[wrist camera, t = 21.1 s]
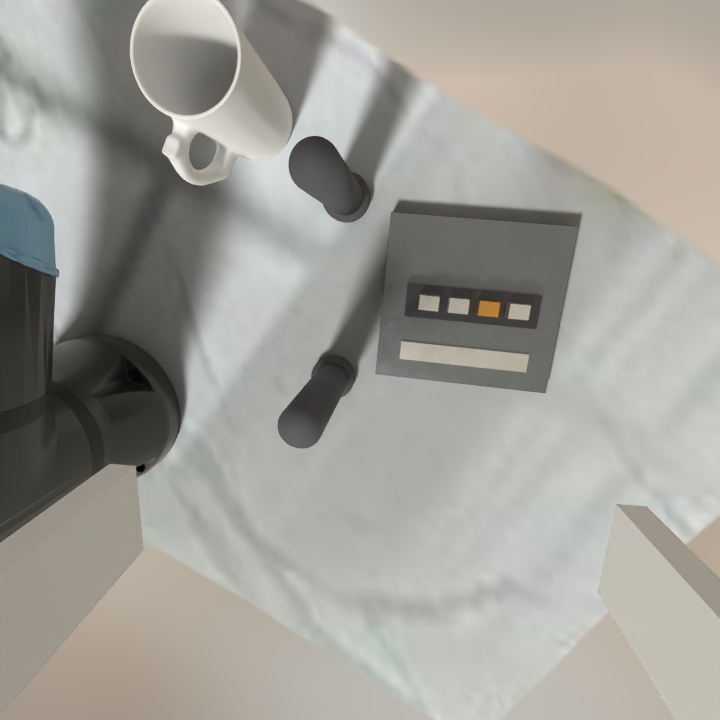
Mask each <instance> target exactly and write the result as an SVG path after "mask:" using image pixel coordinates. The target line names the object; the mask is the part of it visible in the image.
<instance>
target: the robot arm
mask: <svg viewBox="0 0 720 720" xmlns="http://www.w3.org/2000/svg"><path fill="white" fill-rule="evenodd" d="M56 277H59V270H58V269H57V268H56V263H55V243H54V223H53V219H52V217H51V215H50V213H49V211H48V210H47V208H46V207H45V206H44V205H43V204H42V203H41V202H40V201H39V200H38V199H36V198H35V197H33V196H31V195H30V194H28V193H26V192H23V191H20V190H18V189H15V188H12V187H9V186H6V185H3V184H0V716H1V715H2V713H3V712H4V711H5V710H6V709H7V708H8V706H9V705H10V704H11V703H12V702H13V701H14V699H15V698H16V697H17V696H18V695H19V694H20V693H21V691H22V690H23V689H24V688H25V687H26V686H27V684H28V683H29V682H30V681H31V680H32V679H33V677H34V676H35V675H36V674H37V673H38V672H39V671H40V669H41V668H42V667H43V666H44V665H45V664H46V662H47V661H48V660H49V659H50V658H51V657H52V655H53V654H54V653H55V652H56V651H57V650H58V648H59V647H60V646H61V645H62V644H63V643H64V642H65V640H66V639H67V638H68V637H69V636H70V634H71V633H72V632H73V631H74V630H75V629H76V628H77V626H78V625H79V624H80V623H81V622H82V620H83V619H84V618H85V617H86V616H87V615H88V614H89V612H90V611H91V610H92V609H93V608H94V607H95V606H96V604H97V603H98V602H99V601H100V600H101V599H102V597H103V596H104V595H105V594H106V593H107V591H108V590H109V589H110V588H111V587H112V586H113V585H114V583H115V582H116V581H117V580H118V579H119V578H120V576H121V575H122V574H123V573H124V572H125V571H126V570H127V568H128V567H129V566H130V565H131V564H132V563H133V561H134V560H135V559H136V558H137V557H138V556H139V554H140V553H141V552H142V551H143V541H142V530H141V519H140V508H139V497H138V486H137V477H139V476H141V475H143V474H144V473H146V472H147V471H149V470H150V469H151V468H152V467H154V466H155V465H156V464H157V463H159V462H160V461H161V460H162V459H163V458H164V457H165V456H166V455H167V453H168V452H169V451H170V449H171V447H172V446H173V444H174V441H175V439H176V436H177V432H178V427H179V408H178V402H177V398H176V395H175V392H174V389H173V387H172V384H171V383H170V381H169V379H168V377H167V375H166V374H165V372H164V371H163V370H162V368H161V367H160V366H159V365H158V363H157V362H156V361H155V360H154V359H153V358H152V357H151V356H149V355H148V354H147V353H146V352H144V351H143V350H142V349H140V348H139V347H137V346H135V345H134V344H132V343H130V342H128V341H125V340H123V339H120V338H116V337H112V336H106V335H90V336H84V337H80V338H75V339H71V340H67V341H64V342H61V343H59V344H57V345H55V346H53V329H54V306H55V286H56ZM598 594H599V595H600V597H601V599H602V600H603V602H604V604H605V605H606V607H607V609H608V610H609V612H610V614H611V615H612V617H613V618H614V620H615V622H616V623H617V625H618V626H619V628H620V630H621V631H622V633H623V635H624V636H625V638H626V640H627V641H628V643H629V645H630V646H631V648H632V650H633V651H634V653H635V655H636V656H637V658H638V659H639V661H640V663H641V664H642V666H643V667H644V669H645V671H646V673H647V674H648V676H649V677H650V679H651V681H652V682H653V684H654V685H655V687H656V689H657V691H658V692H659V694H660V696H661V697H662V699H663V700H664V702H665V704H666V705H667V707H668V709H669V710H670V712H671V713H672V715H673V717H674V719H675V720H720V578H719V577H718V576H717V575H716V574H715V573H714V572H712V570H711V569H710V568H709V567H708V566H707V565H705V564H704V563H703V562H702V561H701V560H700V559H699V558H698V557H697V556H696V555H695V554H694V553H693V552H692V551H691V550H690V549H689V548H688V547H687V546H686V545H685V544H684V543H683V542H682V541H681V540H680V539H679V538H678V537H677V536H676V535H675V534H674V533H673V532H672V531H671V530H670V529H669V528H668V527H667V526H666V525H665V524H664V523H663V522H662V521H661V520H660V519H659V518H658V517H657V516H656V515H655V514H654V513H653V512H652V511H651V510H650V509H649V508H647V507H645V506H633V505H620V504H616V507H615V512H614V517H613V522H612V526H611V531H610V536H609V541H608V546H607V550H606V555H605V560H604V565H603V569H602V574H601V579H600V584H599V588H598Z"/></svg>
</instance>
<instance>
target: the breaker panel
mask: <svg viewBox="0 0 720 720" xmlns="http://www.w3.org/2000/svg"><path fill="white" fill-rule="evenodd" d="M577 232H578V227H575V226H562V225H549V224H536V223H523V222H510V221H497V220H484V219H472V218H459V217H446V216H433V215H420V214H407V213H394V212H391V221H390V231H389V241H388V252H387V262H386V272H385V282H384V293H383V303H382V313H381V323H380V333H379V344H378V354H377V364H376V374H380V375H389V376H397V377H406V378H415V379H424V380H433V381H442V382H450V383H459V384H468V385H477V386H486V387H495V388H504V389H512V390H521V391H530V392H539V393H546V388H547V383H548V378H549V373H550V368H551V363H552V358H553V353H554V348H555V342H556V337H557V332H558V327H559V322H560V317H561V312H562V307H563V302H564V297H565V292H566V287H567V282H568V277H569V272H570V267H571V262H572V257H573V252H574V247H575V242H576V237H577Z"/></svg>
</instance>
